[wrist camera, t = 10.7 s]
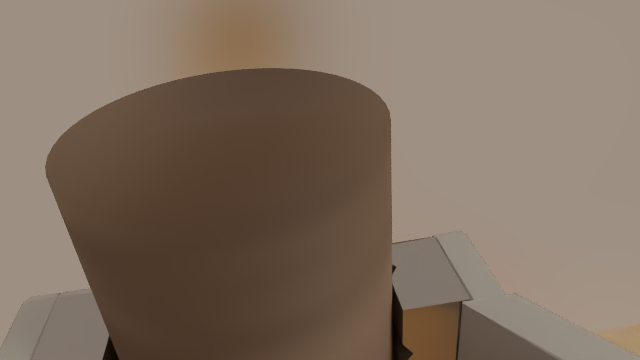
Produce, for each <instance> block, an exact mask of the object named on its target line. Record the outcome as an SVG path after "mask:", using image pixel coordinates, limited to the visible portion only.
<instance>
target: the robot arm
mask: <svg viewBox="0 0 640 360" xmlns="http://www.w3.org/2000/svg"><path fill="white" fill-rule="evenodd" d="M392 308H393V360H640V357H639V356H637V355H635V354H633V353H631V352H629V351H627V350H625V349H623V348H621V347H619V346H617V345H615V344H614V343H612V342H610V341H608V340H606V339H604V338H602V337H600V336H598V335H596V334H594V333H592V332H590V331H588V330H586V329H584V328H582V327H580V326H578V325H576V324H575V323H573V322H570V321H568V320H567V319H565V318H563V317H561V316H559V315H557V314H555V313H553V312H551V311H549V310H547V309H545V308H543V307H541V306H539V305H537V304H535V303H534V302H531V301H529V300H528V299H525V298H524V297H522V296H520V295H518V294H516V293H514V294H507V295H506V293H505V292H504V290H503V289H502V287H501V286H500V284H499V283H498V281H497V280H496V279H495V277H494V275H493V274H492V272H491V271H490V269H489V268H488V266H487V265H486V263H485V262H484V260H483V259H482V257H481V256H480V254H479V253H478V251H477V250H476V248H475V247H474V245H473V244H472V242H471V241H470V239H469V238H468V236H467V235H466V234H465V233H464V232H462V231H457V232H451V233H446V234H441V235H434V236H432V237H428V238H421V239H415V240H409V241H402V242H397V243H392ZM0 360H119V358H118V356H117V353H116V351H115V348H114V346H113V343H112V340H111V338H110V335H109V333H108V330H107V328H106V325H105V323H104V320H103V318H102V315H101V313H100V310H99V308H98V305H97V303H96V300H95V298H94V295H93V293H92V290H91V289H83V290H76V291H68V292H63V293H56V294H50V295H42V296H35V297H30V298H29V299H27V300H26V301H25V302H23V304H22V306H21V308H20V310H19V312H18V314H17V316H16V318H15V320H14V322H13V324H12V326H11V328H10V330H9V332H8V334H7V336H6V338H5V340H4V342H3V344H2V347H1V348H0Z"/></svg>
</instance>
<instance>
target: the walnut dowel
mask: <svg viewBox="0 0 640 360" xmlns="http://www.w3.org/2000/svg"><path fill="white" fill-rule="evenodd" d="M45 167H46V177H47V179H48V182H49V184H50V187H51V189H52V192H53V194H54V197H55V199H56V202H57V204H58V207H59V210H60V212H61V215H62V217H63V219H64V222H65V225H66V227H67V230H68V232H69V235H70V237H71V239H72V242H73V245H74V247H75V250H76V252H77V255H78V257H79V260H80V262H81V265H82V267H83V270H84V272H85V275H86V278H87V280H88V282H89V285H90V287H91V290H92V293H93V295H94V298H95V300H96V303H97V305H98V308H99V310H100V313H101V315H102V318H103V320H104V323H105V325H106V328H107V330H108V333H109V335H110V338H111V340H112V343H113V346H114V348H115V351H116V353H117V356H118V358H119V360H393V308H392V205H391V203H392V202H391V201H392V199H391V119H390V112H389V110H388V108H387V106H386V104H385V102H384V101H383V100H382V99H381V98H380V97H379V96H378V95H377V94H376V93H375V92H373V91H372V90H371V89H369V88H367V87H365V86H364V85H361V84H360V83H357V82H355V81H352V80H350V79H347V78H343V77H340V76H337V75H332V74H328V73H323V72H317V71H309V70H300V69H281V68H266V69H265V68H262V69H242V70H233V71H224V72H216V73H209V74H203V75H198V76H193V77H188V78H183V79H179V80H175V81H171V82H167V83H163V84H160V85H156V86H154V87H150V88H147V89H144V90H141V91H138V92H136V93H133V94H130V95H128V96H125V97H123V98H121V99H118V100H116V101H114V102H111V103H109V104H107V105H105V106H104V107H101V108H99V109H98V110H96V111H94V112H92V113H91V114H89V115H87V116H86V117H84V118H83V119H81V120H80V121H78V122H77V123H76V124H74V125H73V126H72V127H70V128H69V129H68V130H67V131H66V132H65V133H64V134H63V135H62V136H61V137H60V138H59V139H58V141H57V142H56V143H55V144H54V145H53V147H52V149H51V151H50V153H49V155H48V157H47V161H46V166H45Z"/></svg>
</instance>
